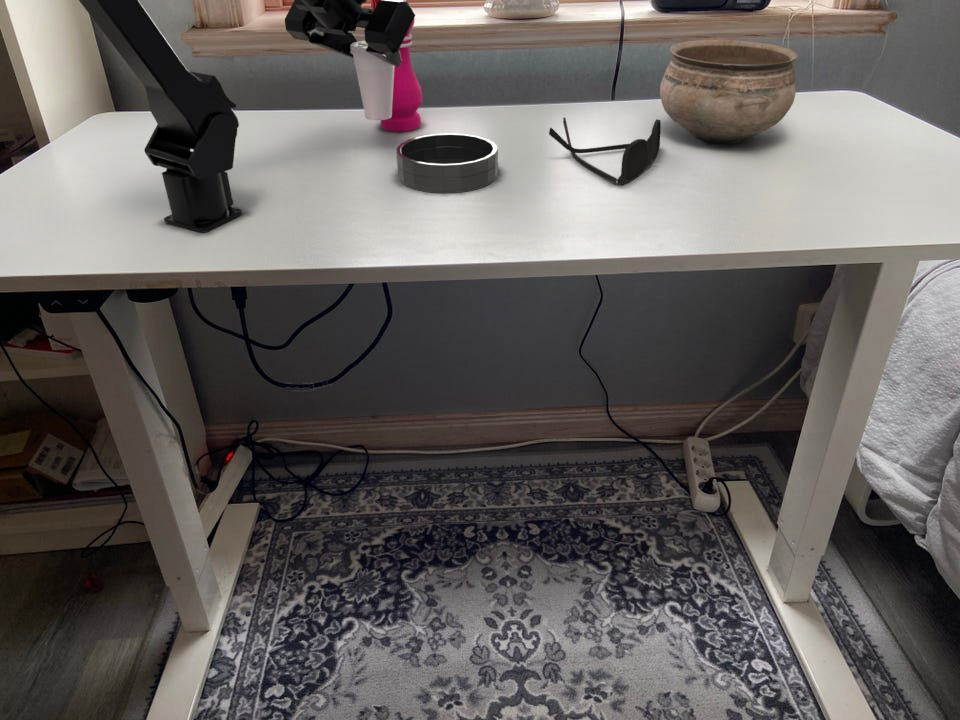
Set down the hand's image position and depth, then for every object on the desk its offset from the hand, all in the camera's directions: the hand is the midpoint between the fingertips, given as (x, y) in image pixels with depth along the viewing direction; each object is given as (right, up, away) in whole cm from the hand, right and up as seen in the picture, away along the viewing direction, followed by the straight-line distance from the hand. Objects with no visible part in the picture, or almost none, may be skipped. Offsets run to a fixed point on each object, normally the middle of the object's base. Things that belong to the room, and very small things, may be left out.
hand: (381, 61), depth 104 cm
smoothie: (-1, -7, +3) cm, 8 cm away
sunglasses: (+30, -14, +1) cm, 33 cm away
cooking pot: (+50, -8, +10) cm, 51 cm away
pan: (+9, -17, -3) cm, 19 cm away
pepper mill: (+1, -4, +16) cm, 16 cm away
